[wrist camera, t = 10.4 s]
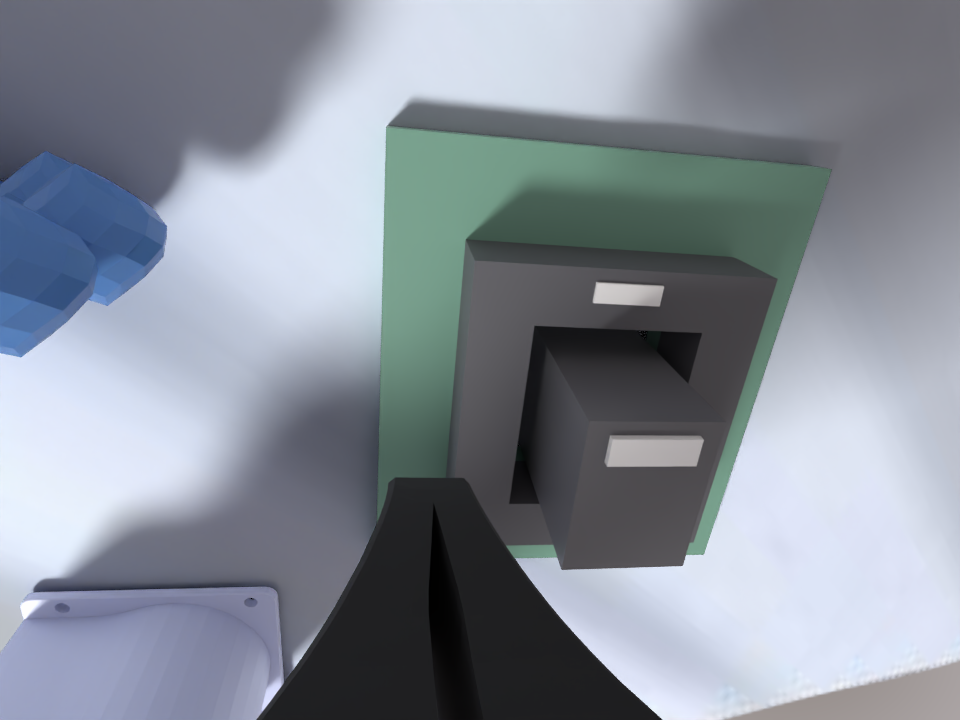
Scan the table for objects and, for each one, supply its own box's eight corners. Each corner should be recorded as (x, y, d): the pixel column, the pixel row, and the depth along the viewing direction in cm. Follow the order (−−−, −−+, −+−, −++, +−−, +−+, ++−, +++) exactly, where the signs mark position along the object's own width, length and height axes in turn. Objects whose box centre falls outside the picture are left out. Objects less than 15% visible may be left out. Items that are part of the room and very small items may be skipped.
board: (376, 543, 24) (372, 614, 20) (387, 125, 17) (383, 133, 14) (693, 538, 26) (735, 602, 22) (811, 165, 19) (895, 180, 16)
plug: (516, 434, 22) (563, 575, 16) (531, 318, 20) (591, 425, 14) (605, 434, 23) (685, 571, 16) (627, 322, 21) (730, 426, 14)
